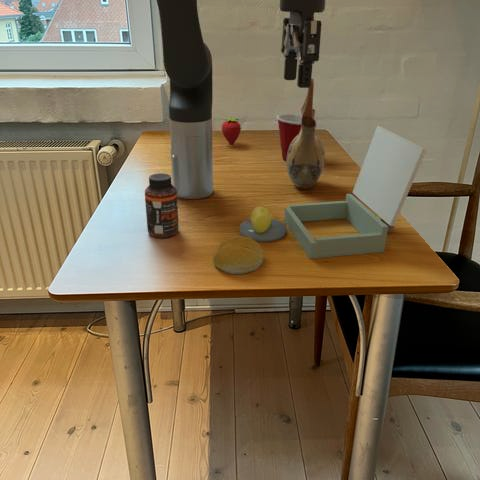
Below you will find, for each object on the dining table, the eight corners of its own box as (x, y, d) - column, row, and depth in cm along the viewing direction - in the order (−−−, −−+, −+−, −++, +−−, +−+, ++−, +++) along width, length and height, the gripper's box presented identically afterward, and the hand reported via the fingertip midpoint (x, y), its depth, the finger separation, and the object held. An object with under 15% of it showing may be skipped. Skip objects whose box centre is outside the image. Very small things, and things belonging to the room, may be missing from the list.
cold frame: (309, 258, 80) (312, 232, 78) (283, 220, 94) (285, 198, 92) (383, 251, 83) (388, 226, 80) (347, 215, 96) (350, 193, 94)
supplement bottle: (165, 242, 85) (161, 184, 80) (141, 234, 88) (135, 177, 83) (185, 230, 89) (182, 174, 84) (161, 223, 92) (157, 169, 87)
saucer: (244, 243, 85) (244, 239, 84) (235, 223, 93) (235, 219, 92) (291, 239, 86) (291, 235, 86) (278, 220, 94) (278, 216, 94)
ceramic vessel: (323, 199, 105) (334, 84, 93) (283, 196, 106) (290, 83, 94) (320, 175, 119) (330, 74, 108) (286, 173, 120) (292, 73, 109)
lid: (422, 148, 75) (426, 149, 75) (377, 125, 89) (381, 126, 89) (390, 225, 80) (393, 226, 80) (352, 192, 94) (355, 193, 94)
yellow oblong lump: (248, 236, 86) (248, 217, 84) (252, 218, 93) (253, 200, 91) (270, 237, 85) (271, 218, 84) (273, 219, 92) (274, 201, 91)
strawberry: (221, 148, 140) (221, 115, 135) (222, 142, 147) (221, 110, 142) (240, 148, 140) (241, 115, 136) (240, 142, 147) (240, 110, 142)
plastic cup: (314, 165, 126) (318, 121, 121) (275, 164, 127) (277, 121, 121) (310, 154, 136) (313, 113, 131) (273, 153, 136) (275, 112, 131)
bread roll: (208, 273, 76) (208, 252, 74) (222, 248, 84) (222, 228, 82) (257, 279, 74) (258, 258, 72) (267, 253, 82) (268, 233, 80)
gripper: (271, -20, 80) (266, 78, 88) (294, -24, 68) (287, 90, 75) (312, -18, 82) (304, 77, 89) (342, -22, 69) (330, 90, 77)
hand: (296, 83), depth 82 cm, fingers open, 8 cm apart
